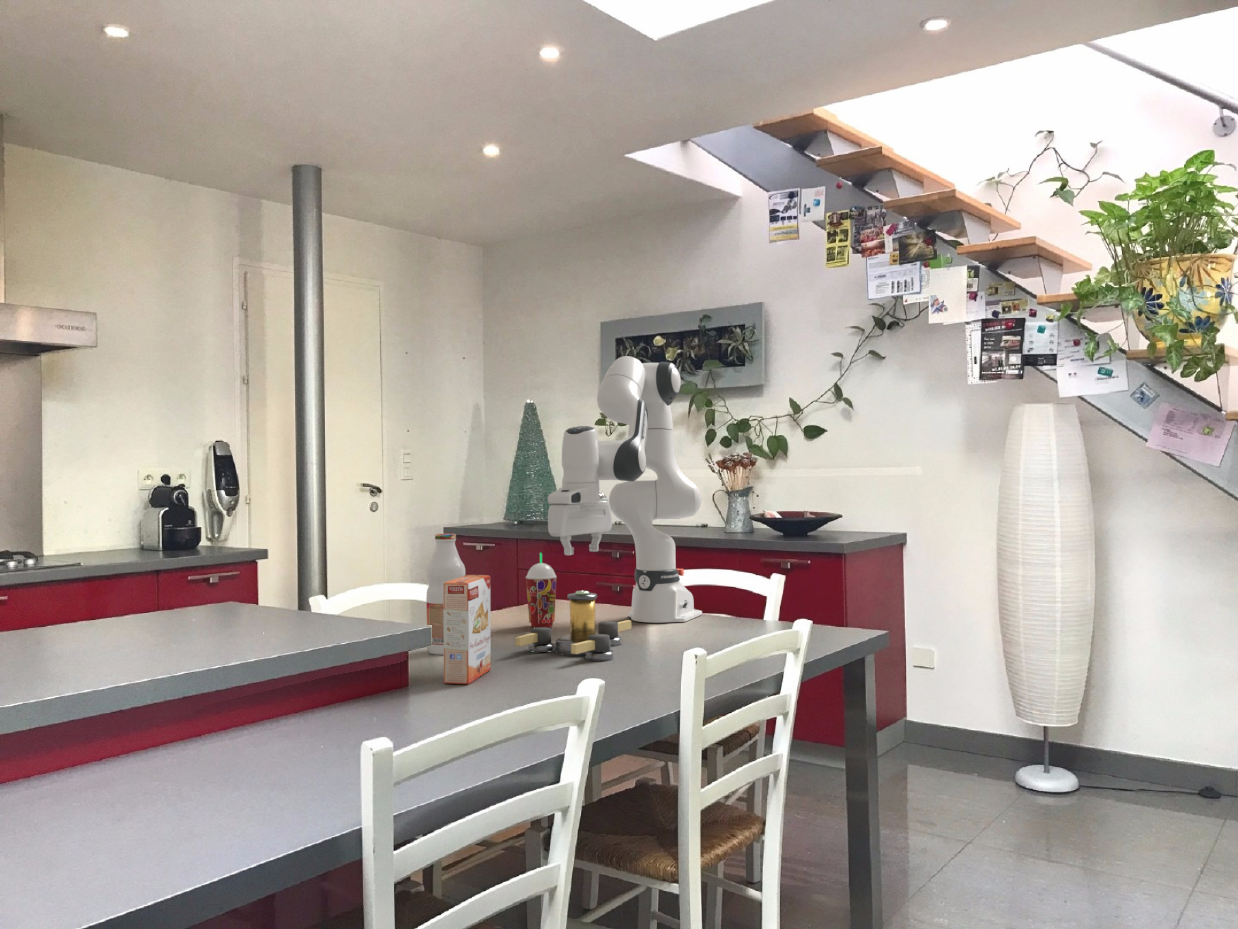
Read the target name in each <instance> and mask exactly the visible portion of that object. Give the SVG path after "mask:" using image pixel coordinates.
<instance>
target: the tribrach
mask: <svg viewBox="0 0 1238 929" xmlns="http://www.w3.org/2000/svg"><path fill="white" fill-rule="evenodd" d="M567 599H568V600H569V634H570V635H567V636H563V637H559V638H557V639H555V642H552V641H551V643H549V644H532V643H531V644H527V651H528V650H529V651H534V652H548V651H556V652H557V653H556V652H555V653H556V654H558V655H561V654H563V655H562V656H566V655H567V656H568V657H584V658H585V660H586V661H590V662H607V661H612V660H613V659H614V651H613V650H611V647H615V646H620V645H622V636H620V635H618V637H614V638H610V650H609V651H607V652H591V651H587V652H583V653H579V654H571V644H575V643H579V642H584V641H588V640H589V635H594V634H597V632H596V599H598V594H597V593H594V592H590V591H589V590H576V591H575V592H573V593H572V592H571V593H568V594H567ZM548 653H549V652H548Z"/></svg>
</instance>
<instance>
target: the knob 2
mask: <svg viewBox="0 0 1238 929" xmlns="http://www.w3.org/2000/svg"><path fill="white" fill-rule="evenodd" d="M610 648H611V646H610V636H609V635H606V634H598V633H596V634H594V635H589V640H588V641H584V642H579V643H575V644H571V654H579V653H583V652H587V651H591V652H607V651H609V650H610Z"/></svg>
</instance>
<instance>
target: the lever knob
mask: <svg viewBox="0 0 1238 929" xmlns="http://www.w3.org/2000/svg"><path fill="white" fill-rule="evenodd" d="M597 625H598V627H597V628H598V633H597V634H606V635H609V636H610V638H614V637H618V636H619V633H620V632H623V631H627V630H631V629H632V620H629V619H626V620H622V621H618V622H617V621H611V620H610V621H609V620H607V621H600V622H598V623H597Z"/></svg>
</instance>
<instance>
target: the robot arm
mask: <svg viewBox="0 0 1238 929" xmlns="http://www.w3.org/2000/svg"><path fill="white" fill-rule="evenodd" d="M681 382H682V380H681V374H680V371H679V369H678V367H677V366H676V365H675V364H674V362H673V363H672V362H668V361H660V362H643V363H642V362H641V361H640V360H639V359H637V358H636V357H633V356H628V355H625V356H620V357H618V358H617V359H615V360H614V361H613V362H612V364H611V365H610V366H609V368H608V369H607V371H606V373H605V375H604V376H603V378H602V381H601V383H600V386H599V388H598V390H597V397H596V402H597V406H598V408H599V409H600V411H601V413H602V414H603V415H604V416H605V417H606V418H608V419H609V420H611V421H614V423H615V422H616V423H621V424H624V425H627V426H628V433H627V437H626V438H623V439H620V440H618V439H617V440H598V436H597V430H596V428H595V427H593V426H589V425H581V426H579V425H578V426H573V427H569V428H567V429H566V430H565V431H564V432H563V437H562V438H563V439H562V444H561V467H562V470H563V475H562V479H561V480H562V481H561V487H560V488H557V489H556V490H555V491H553V492H551V493H550V494H548V496H547V502H548V504H550V505H549V507H548V510H547V511H548V512H547V530H548V533H549V535H550V536H551V537H558V538H559V537H560V538H559V539H560V542H561V545H562V547H563V550H564V551H563V554H564V555H565V556H572V555H574V553H575V552H574V551H575V547H574V546H573V547H572V544H571V540H572V536H578V535H589V534H590V535H591V538H592V539H591V543H589V545H588V548H589V549H588V550H589V552H592V553H593V552H596V553H597V552H599V549H600V548H599V544H600V542H601V539H602V536H603V534H602V533H604V532H610V531H611V529H612V527H613V521H612V520H613V519H612V514H613V515H614V516H615V517H616V518H618V519H619V520H620V521H621V522H623V523H624V525H625V526H626V527H627V528H628V530H629V532H630V533H631V535H632V538H633V539H632V540H633V542H634V548H635V559H636V561H635V562H636V563H635V564H636V566H635V569H634V581H635V586H633V589H632V597H631V611H630V612H628V617H629V618H630V619H631V621H634V622H641V623H653V624H654V623H655V624H656V623H658V624H659V623H685V622H687V621H690V620H693V619H694V618H696V617H697V618H698V617H699V616H702V615H703V610H699V609H696V608H695V607H694V605H695V604H694V602H695V601H694V595H693V594H692V592H691V591H690V590H688V589H687V588H686V586H684V585H683V584H682V583H681V582H680V576H682V577H683V576H684V574H685V570H684V568H677V566H676V563H677V562H676V561H677V560H676V555H677V554H676V543H675V541H674V538H672V537H671V535H669V534H667V533H665V532H663V531H661V530H659V529H657V528H656V527H655V526H654V524H653V521H655V520H680V519H685V518H690V517H694V516H695V515H696V514H697V513H698V512H699V509H700V507H701V504H702V495H701V491H700V488H698V486H697V485H696V484H695V483H694V482H693V481H691V480H690V479H689V478H688V477H687V476H686V475H685V474H684V473H683V472H682V470H681V469H680V467H679V464H678V462H677V459H676V455H675V454H676V453H675V443H674V424H673V414H672V408H671V405H672V403H673V402H674V400H675V399H676V398H677V396H678V395H679V393H680V390H681V386H682V385H681ZM646 468H647V469H648V470H651V471H653V472H654V473H655V474H656V477H657V478H656V479H655V480H653V479H652V480H637V479H640V477H641V476H642V475H643V474H644V473H645V471H646ZM600 481H623V482H620V483H616V484H615V485H614V486H613V487H612V489H611V491H610V493H609V497H607V496H606V495H605V493H600Z"/></svg>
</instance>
